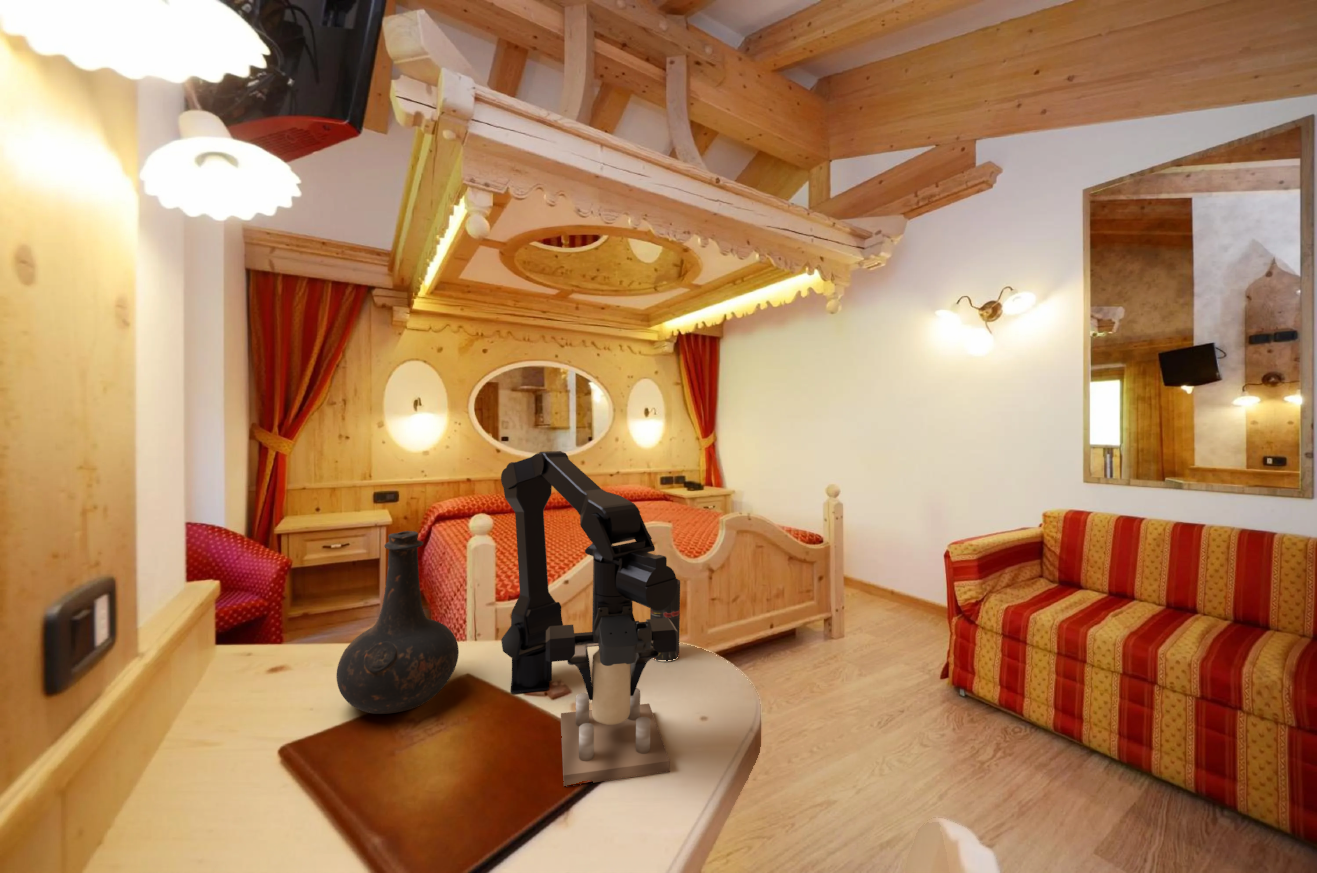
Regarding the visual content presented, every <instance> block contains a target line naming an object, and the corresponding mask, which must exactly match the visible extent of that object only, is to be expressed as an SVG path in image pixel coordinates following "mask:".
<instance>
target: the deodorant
mask: <svg viewBox="0 0 1317 873" xmlns="http://www.w3.org/2000/svg"><path fill="white" fill-rule="evenodd" d="M676 579H677V580H678V585H677V591H676V594H675V597H674V599H673V600H672V602H671V603H670V604H669V605H668V607H666V608H665V609H663V610H659V611H656V610H653V609H651V608H649V609H650V610H649V611H650V613H649V615H650V618H649V619H659V618H669V619H670V621H671V622H672V623H673V625H674V626H675V628H676V630H677V631H678V634H679V635H680V630H681V629H680V626H681V625H680V624H681V622H680V620H681V619H680V618H681V615H680V614H681V613H680V612H681V580H680V579H679V578H676ZM678 655H679V656H680V649H679V650H677V651H673V652H662V653H659V655H658V657H656V658H654V659H656V660H666V661H668V660H673V659H676V658H677V657H678Z"/></svg>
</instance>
